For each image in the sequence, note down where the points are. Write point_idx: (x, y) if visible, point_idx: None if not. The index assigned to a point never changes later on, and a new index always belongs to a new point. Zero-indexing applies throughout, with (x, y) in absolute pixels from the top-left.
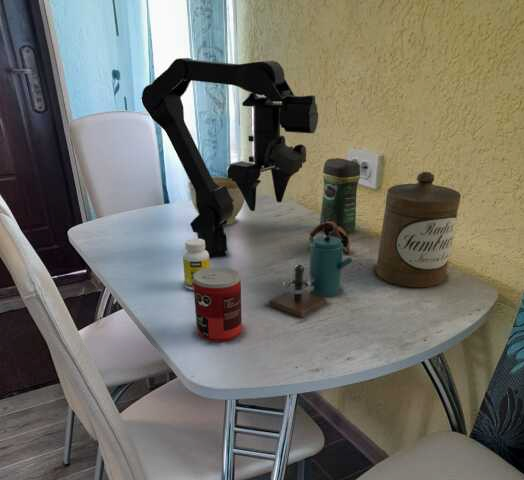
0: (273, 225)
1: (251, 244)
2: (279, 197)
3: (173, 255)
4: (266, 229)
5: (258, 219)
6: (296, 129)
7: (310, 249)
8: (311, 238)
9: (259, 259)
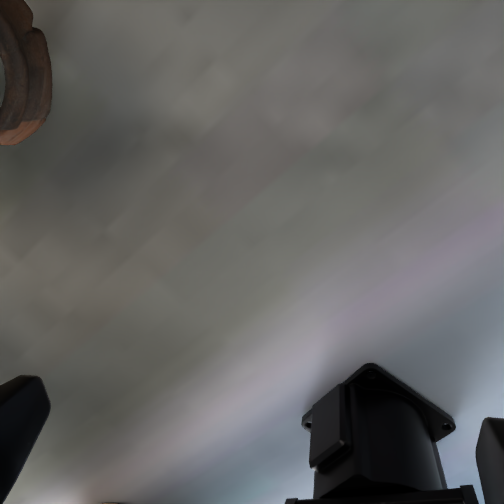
0: None
1: (193, 360)
2: (8, 422)
3: None
4: None
5: None
6: None
7: (45, 118)
8: (13, 101)
9: (297, 238)
